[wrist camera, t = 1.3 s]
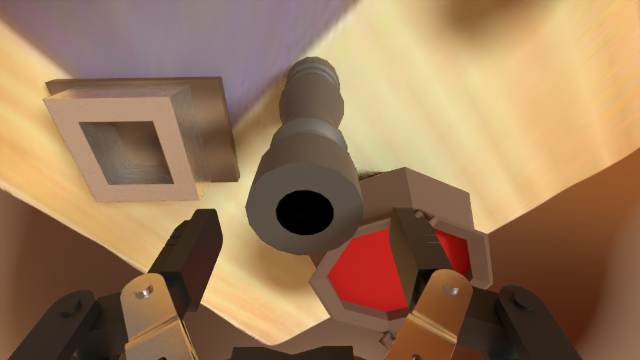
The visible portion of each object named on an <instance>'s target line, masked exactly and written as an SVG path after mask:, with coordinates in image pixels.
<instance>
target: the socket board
mask: <svg viewBox="0 0 640 360" xmlns="http://www.w3.org/2000/svg"><path fill="white" fill-rule="evenodd" d="M45 84H46V86H47V88H48V90H49V91H50V93H51V95H55V94H58V93H60V92H63V91H66V90H69V89H71V88H74V87H77V86H134V85H189V89H190V93H191V97H192V101H193V105H194V109H195V113H196V117H197V121H198V125H199V129H200V133H201V137H202V141H203V145H204V149H205V153H206V156H207V160H208V164H209V168H210V172H211V176H212V181H211V182H238V180H239V178H240V173H239V168H238V162H237V157H236V152H235V147H234V141H233V136H232V131H231V126H230V120H229V115H228V110H227V105H226V99H225V94H224V89H223V84H222V78H221V77H173V78H112V79H55V80H51V81H48V82H45ZM114 125H115V127H116V129H117V132H118V134H119V137H120V139H121V141H122V144H123V146H124V149H125V151H126V153H127V156H128V158H129V161H130V163H131V165H151V164H167V161H166V158H165V155H164V152H163V149H162V146H161V143H160V140H159V137H158V134H157V131H156V128H155V125H154V123H153V121H117V122H114Z"/></svg>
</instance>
